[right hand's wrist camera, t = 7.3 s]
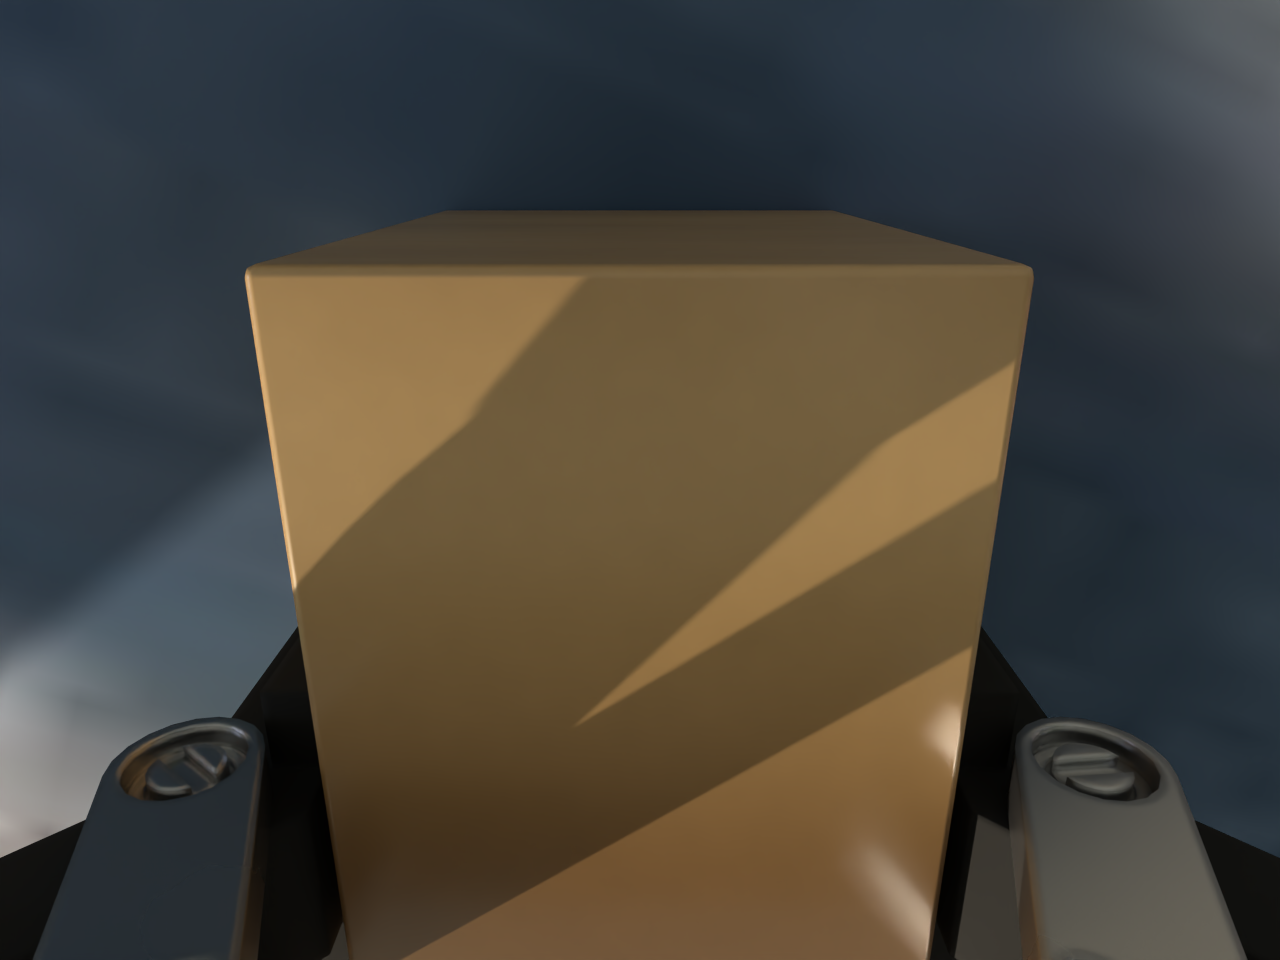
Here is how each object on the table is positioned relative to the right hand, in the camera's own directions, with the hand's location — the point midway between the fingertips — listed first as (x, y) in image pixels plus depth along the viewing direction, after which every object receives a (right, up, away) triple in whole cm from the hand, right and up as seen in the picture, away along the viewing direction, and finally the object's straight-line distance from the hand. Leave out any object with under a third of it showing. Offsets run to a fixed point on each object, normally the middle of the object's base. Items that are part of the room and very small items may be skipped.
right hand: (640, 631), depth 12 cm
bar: (0, -28, +12) cm, 31 cm away
